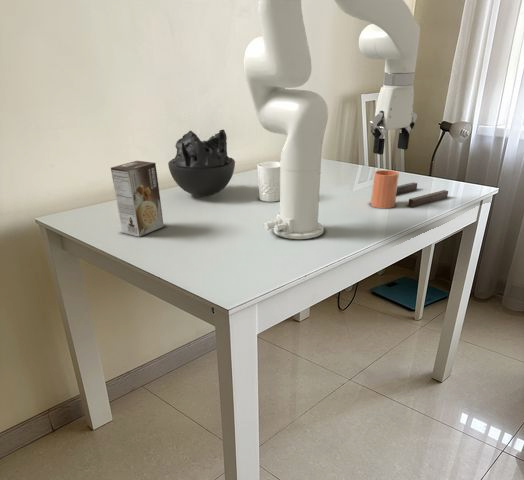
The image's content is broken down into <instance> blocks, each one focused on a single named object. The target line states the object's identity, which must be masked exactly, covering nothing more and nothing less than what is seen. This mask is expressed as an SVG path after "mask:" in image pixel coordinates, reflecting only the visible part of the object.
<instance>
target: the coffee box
mask: <svg viewBox="0 0 524 480" xmlns="http://www.w3.org/2000/svg"><path fill="white" fill-rule="evenodd" d="M156 164H157V163H156V162H152V161H151V162H150V161H143V160H135V161H131V162H126V163H123V164H119V165H116V166H112V167H110V171H111V177H112V182H113V183H112V184H113V189H114V194H115V199H116V205H117V212H118V216H119V223H120V229H121V233H122V234H126V235H130V236H135V237H143V236H145V235H147V234H150V233H152V232H154V231H156V230H159V229H162V228H164V227H165V226H164V224H165V223H164V218H163V209H162V203H161V194H160V187H159V179H158V172H157V165H156Z"/></svg>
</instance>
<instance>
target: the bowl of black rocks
mask: <svg viewBox="0 0 524 480" xmlns="http://www.w3.org/2000/svg"><path fill="white" fill-rule="evenodd" d="M227 140H228V137H227V133H226V131H225V129H219V131H218V133H215V134H214V135H211V136H210V137H209V138H208V139H207V140H200V138H199V137H198V135H197V134H196V133H195V132H194V131H192V130H189V131H187V133H185V134H183V135H182V137H181V138H179V139H178V140H177V141H176V143H175V146H174V147H175V148H176V154H175V157H174V158H172V159H170V160H169V161H168V163H167V165H168V170H169V173H170V175H171V177H172V179H173V180H174V182H175V183H176V184H177V186H178V187H179V188H180V189H182V191H184V192H186V193H188V194H190V195H193V196H197V197H210V196H212V195H215V194H218V193H219V192H221V191H222V190H224V189H225V188H226V187H227V185H228V184H229V183H230V181H231V179H232V177H233V175H234V172H235V167H236V161H235V159H234V158H233V157H229V156H228V146H227V145H228V141H227Z"/></svg>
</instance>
